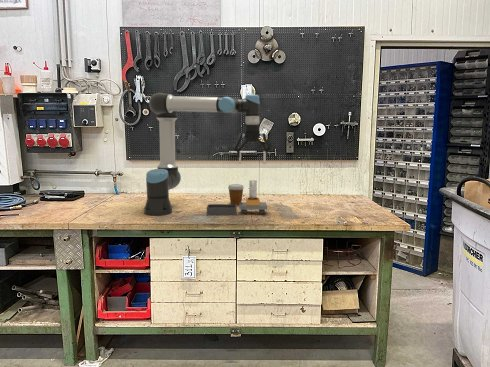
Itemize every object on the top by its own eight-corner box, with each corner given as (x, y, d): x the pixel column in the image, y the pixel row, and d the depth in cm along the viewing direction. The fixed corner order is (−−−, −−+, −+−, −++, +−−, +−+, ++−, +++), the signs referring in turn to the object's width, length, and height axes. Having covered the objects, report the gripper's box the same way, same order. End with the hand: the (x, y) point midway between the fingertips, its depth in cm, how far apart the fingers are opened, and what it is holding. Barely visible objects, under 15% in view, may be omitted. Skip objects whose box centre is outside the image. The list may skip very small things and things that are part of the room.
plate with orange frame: (239, 215, 202) (239, 200, 201) (239, 211, 211) (239, 197, 210) (267, 214, 203) (267, 200, 201) (265, 211, 212) (265, 197, 210)
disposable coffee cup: (231, 207, 221) (231, 187, 219) (225, 204, 229) (225, 184, 227) (246, 206, 224) (246, 186, 222) (240, 202, 233) (240, 183, 231)
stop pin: (249, 204, 204) (249, 181, 202) (249, 203, 208) (249, 180, 206) (256, 204, 204) (257, 181, 202) (256, 203, 208) (256, 180, 206)
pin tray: (206, 215, 201) (206, 207, 201) (207, 211, 210) (207, 204, 210) (236, 215, 202) (236, 207, 201) (236, 211, 211) (236, 204, 210)
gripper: (230, 124, 196) (230, 164, 200) (276, 124, 200) (276, 163, 204) (228, 124, 204) (228, 163, 207) (273, 124, 207) (273, 162, 211)
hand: (252, 163), depth 205 cm, fingers open, 13 cm apart
